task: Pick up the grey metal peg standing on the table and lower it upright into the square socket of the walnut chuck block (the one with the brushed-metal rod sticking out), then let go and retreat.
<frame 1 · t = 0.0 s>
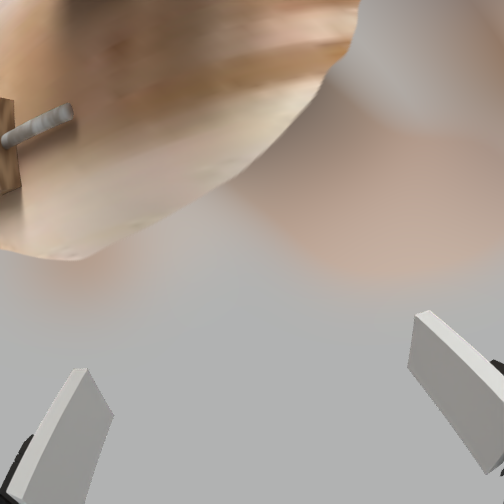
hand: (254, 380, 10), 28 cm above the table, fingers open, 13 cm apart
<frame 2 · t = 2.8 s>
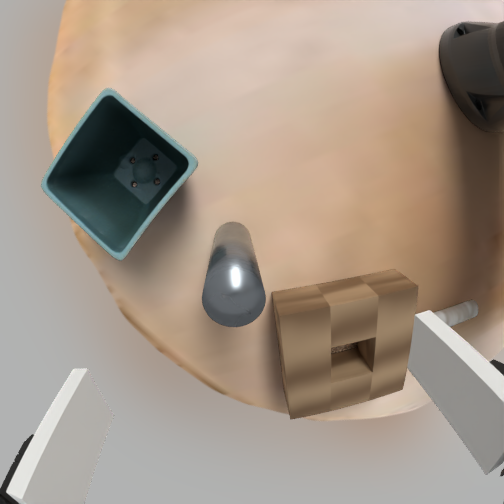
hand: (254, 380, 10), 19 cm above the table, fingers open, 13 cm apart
grey metal peg: (232, 239, 28), on the table
flower pot: (146, 169, 26), on the table
chuck block: (338, 335, 32), on the table
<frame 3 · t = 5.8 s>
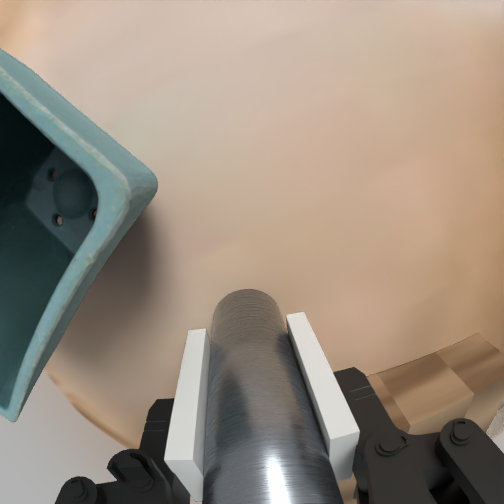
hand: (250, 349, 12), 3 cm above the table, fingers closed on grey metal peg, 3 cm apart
grey metal peg: (247, 320, 15), on the table, touching gripper
flower pot: (78, 190, 13), on the table
chuck block: (394, 425, 19), on the table
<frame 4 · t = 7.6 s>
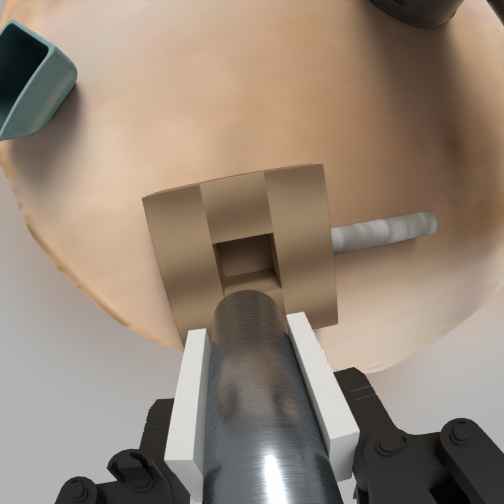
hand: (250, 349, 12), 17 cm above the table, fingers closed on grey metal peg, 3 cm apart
grey metal peg: (247, 320, 15), point 14 cm above the table, touching gripper
flower pot: (51, 90, 22), on the table
chuck block: (245, 249, 28), on the table
when the fingers open (6 cm above the table, at t = 9.7 s): grey metal peg drops 2 cm, resting in chuck block.
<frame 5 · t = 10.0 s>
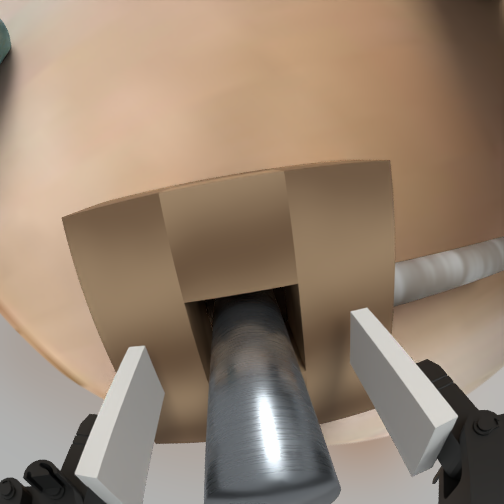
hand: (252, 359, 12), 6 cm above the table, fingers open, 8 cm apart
grey metal peg: (244, 295, 18), resting in chuck block
chuck block: (244, 295, 18), on the table
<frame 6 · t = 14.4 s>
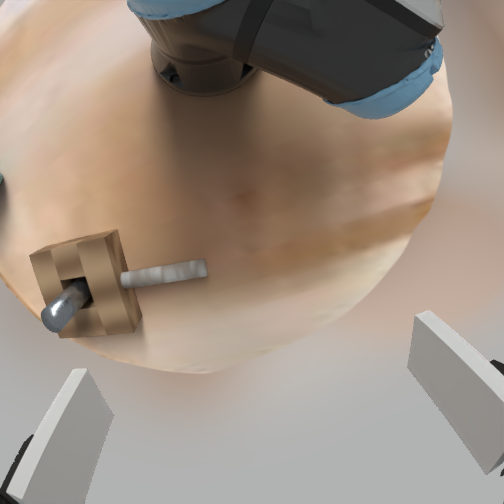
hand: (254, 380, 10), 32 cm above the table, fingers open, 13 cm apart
grey metal peg: (90, 281, 42), resting in chuck block
chuck block: (90, 281, 41), on the table
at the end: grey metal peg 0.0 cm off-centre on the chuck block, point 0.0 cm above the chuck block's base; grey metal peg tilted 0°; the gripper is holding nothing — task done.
